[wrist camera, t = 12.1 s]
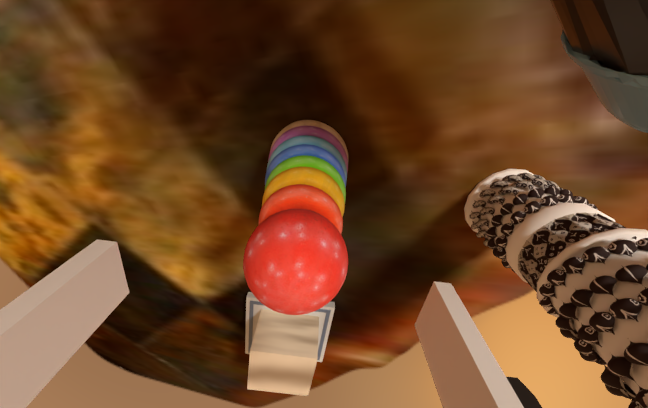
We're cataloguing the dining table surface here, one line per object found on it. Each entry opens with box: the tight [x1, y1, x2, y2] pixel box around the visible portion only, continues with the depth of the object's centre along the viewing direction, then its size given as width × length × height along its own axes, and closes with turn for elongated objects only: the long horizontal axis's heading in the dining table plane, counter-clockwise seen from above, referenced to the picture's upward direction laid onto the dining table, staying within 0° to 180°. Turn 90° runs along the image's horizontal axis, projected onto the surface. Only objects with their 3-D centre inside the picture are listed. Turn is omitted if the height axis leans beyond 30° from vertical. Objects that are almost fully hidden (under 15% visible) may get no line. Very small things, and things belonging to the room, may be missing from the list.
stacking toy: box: [243, 120, 349, 315], centre depth 19 cm, size 8×8×19 cm
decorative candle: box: [464, 169, 648, 408], centre depth 18 cm, size 9×9×25 cm
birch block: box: [247, 309, 319, 396], centre depth 35 cm, size 8×8×6 cm
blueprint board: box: [245, 292, 335, 362], centre depth 39 cm, size 12×12×1 cm
